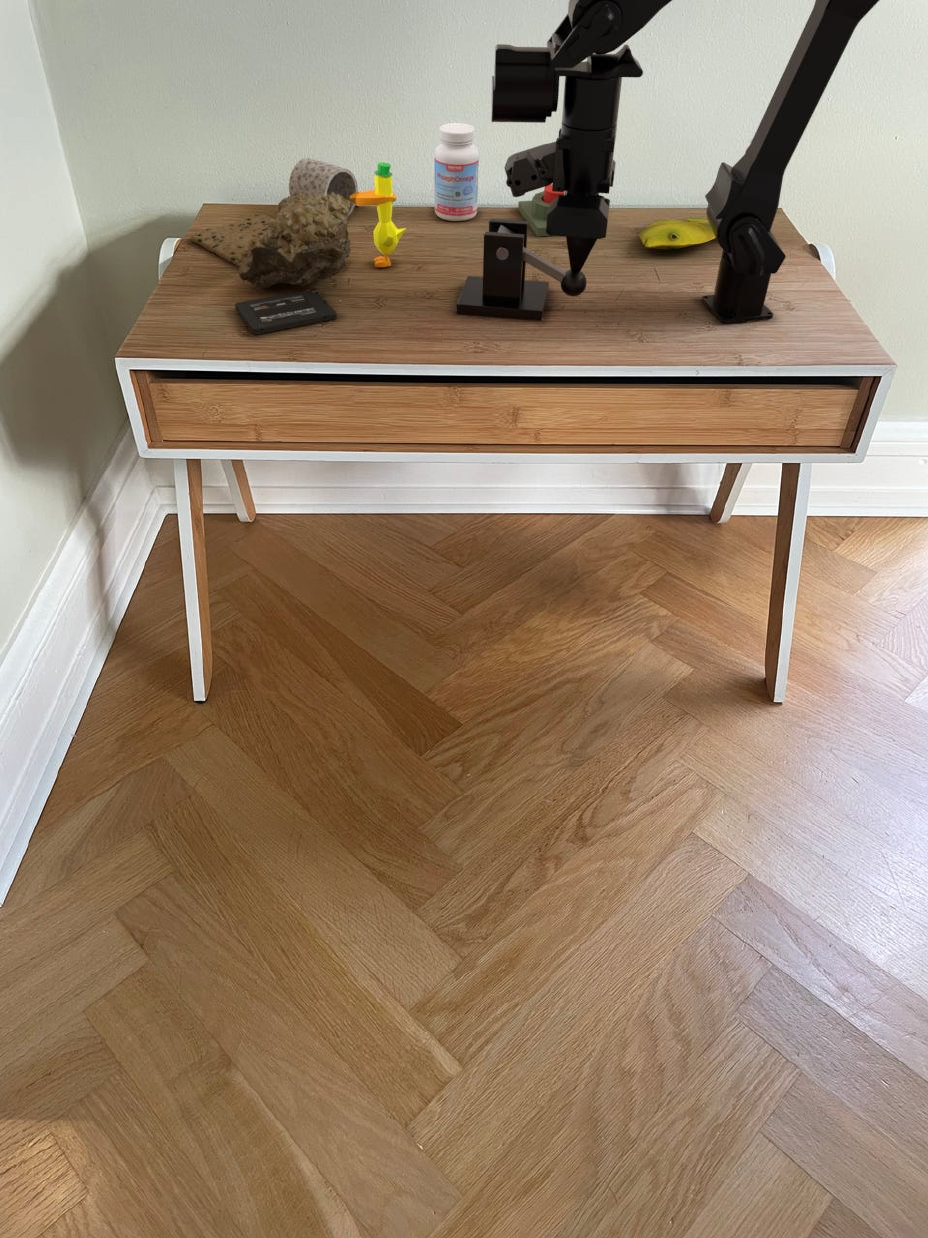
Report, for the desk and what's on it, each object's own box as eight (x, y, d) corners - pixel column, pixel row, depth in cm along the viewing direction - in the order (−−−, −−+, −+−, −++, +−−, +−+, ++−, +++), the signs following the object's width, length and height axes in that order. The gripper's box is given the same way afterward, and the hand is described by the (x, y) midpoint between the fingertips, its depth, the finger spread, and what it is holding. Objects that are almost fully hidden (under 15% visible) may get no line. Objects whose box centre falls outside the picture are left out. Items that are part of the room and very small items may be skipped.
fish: (623, 231, 121) (698, 241, 117) (666, 203, 132) (736, 211, 128) (621, 254, 123) (695, 264, 119) (664, 224, 134) (733, 233, 130)
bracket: (548, 291, 115) (553, 217, 109) (541, 320, 109) (547, 244, 103) (467, 284, 116) (468, 211, 110) (456, 313, 110) (456, 237, 104)
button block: (593, 232, 128) (596, 209, 126) (537, 236, 127) (538, 213, 125) (571, 205, 136) (573, 183, 133) (518, 209, 134) (519, 187, 132)
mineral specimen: (270, 221, 122) (256, 148, 113) (368, 231, 121) (361, 159, 112) (239, 297, 114) (221, 225, 106) (343, 309, 113) (333, 238, 105)
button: (573, 205, 129) (574, 191, 127) (547, 207, 128) (548, 193, 127) (565, 195, 131) (566, 182, 130) (540, 197, 131) (541, 184, 129)
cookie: (318, 243, 125) (317, 235, 124) (241, 268, 119) (240, 261, 118) (266, 217, 131) (265, 209, 130) (189, 240, 125) (188, 232, 124)
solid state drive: (253, 329, 105) (253, 335, 105) (337, 312, 108) (337, 318, 109) (233, 302, 109) (234, 308, 110) (315, 288, 113) (315, 293, 113)
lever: (578, 294, 112) (592, 272, 110) (576, 305, 110) (590, 283, 108) (490, 243, 109) (502, 220, 107) (487, 253, 107) (499, 230, 105)
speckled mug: (284, 203, 130) (319, 215, 127) (294, 152, 128) (330, 162, 125) (331, 217, 138) (365, 228, 135) (342, 169, 136) (377, 179, 133)
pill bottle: (434, 222, 130) (433, 134, 123) (435, 205, 135) (434, 120, 127) (477, 222, 130) (479, 135, 123) (477, 206, 135) (479, 120, 127)
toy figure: (356, 271, 118) (349, 170, 110) (353, 260, 120) (346, 160, 112) (409, 267, 119) (406, 167, 111) (405, 256, 121) (402, 157, 113)
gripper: (522, 93, 105) (516, 234, 116) (500, 145, 92) (495, 299, 103) (622, 98, 104) (606, 240, 115) (615, 153, 91) (597, 308, 101)
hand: (575, 270), depth 108 cm, fingers closed, pressing on lever
